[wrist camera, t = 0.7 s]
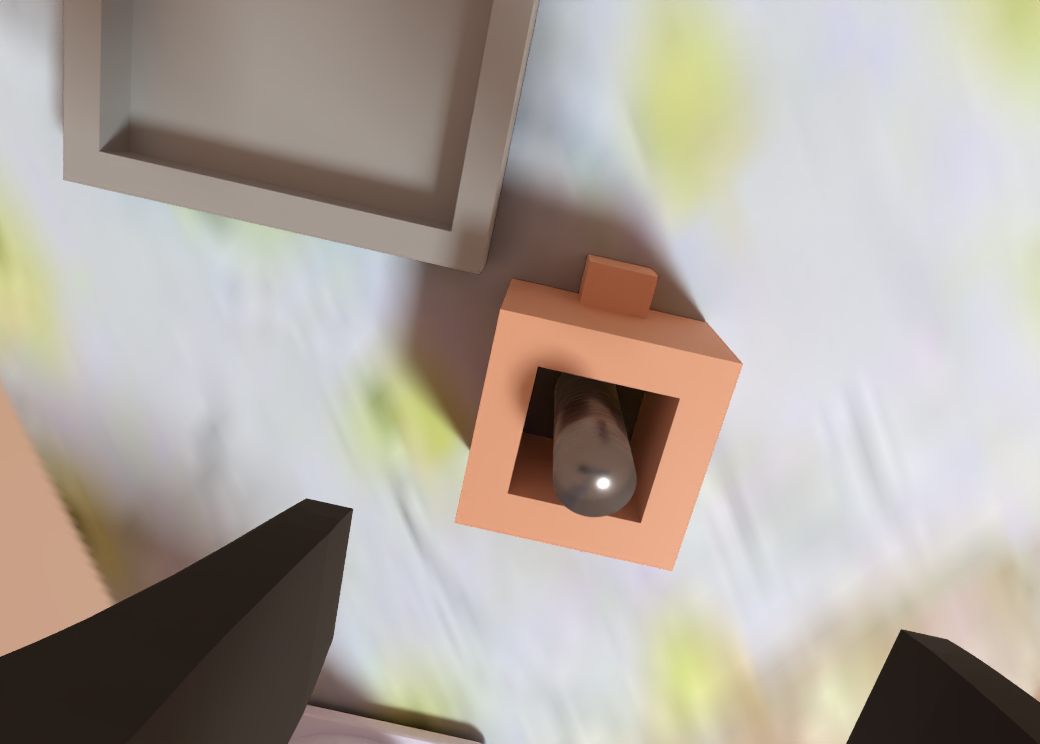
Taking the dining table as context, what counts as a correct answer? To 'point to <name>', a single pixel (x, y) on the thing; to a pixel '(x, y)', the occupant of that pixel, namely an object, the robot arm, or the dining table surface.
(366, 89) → the slate tray
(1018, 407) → the dining table surface
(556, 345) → the collar
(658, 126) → the dining table surface
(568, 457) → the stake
